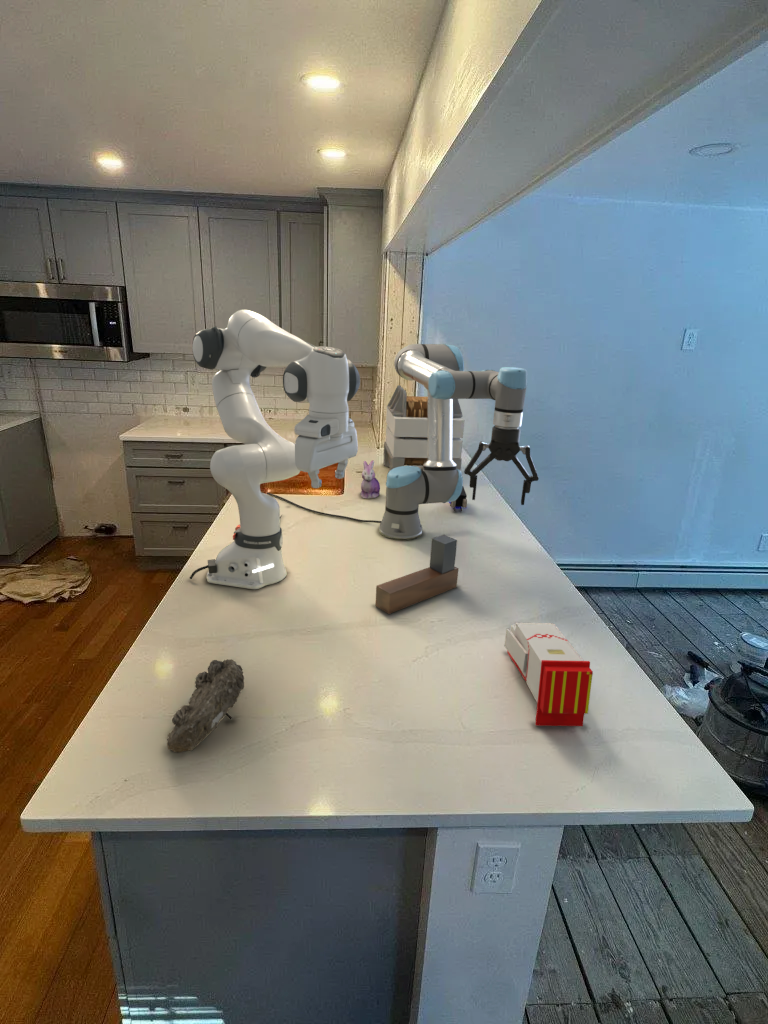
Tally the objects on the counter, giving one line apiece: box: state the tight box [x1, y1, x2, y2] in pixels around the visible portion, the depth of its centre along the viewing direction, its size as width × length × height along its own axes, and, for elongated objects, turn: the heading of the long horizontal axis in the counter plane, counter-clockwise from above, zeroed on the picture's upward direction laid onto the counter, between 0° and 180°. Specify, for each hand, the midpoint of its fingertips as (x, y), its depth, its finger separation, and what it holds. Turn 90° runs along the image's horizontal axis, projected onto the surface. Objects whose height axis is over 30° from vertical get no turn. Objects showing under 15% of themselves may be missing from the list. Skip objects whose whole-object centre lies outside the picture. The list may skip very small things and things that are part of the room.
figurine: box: [360, 460, 381, 499], centre depth 236 cm, size 9×10×15 cm
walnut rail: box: [375, 566, 459, 615], centre depth 156 cm, size 6×26×6 cm, turn 131°
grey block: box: [429, 534, 458, 574], centre depth 159 cm, size 5×5×9 cm
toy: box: [503, 622, 594, 727], centre depth 121 cm, size 12×13×30 cm
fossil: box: [166, 658, 245, 754], centre depth 106 cm, size 22×10×15 cm
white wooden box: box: [383, 384, 465, 472], centre depth 268 cm, size 34×33×41 cm
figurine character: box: [448, 485, 468, 512], centre depth 228 cm, size 7×8×15 cm
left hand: (328, 482), depth 131 cm, fingers open, 8 cm apart
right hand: (497, 501), depth 160 cm, fingers open, 13 cm apart
